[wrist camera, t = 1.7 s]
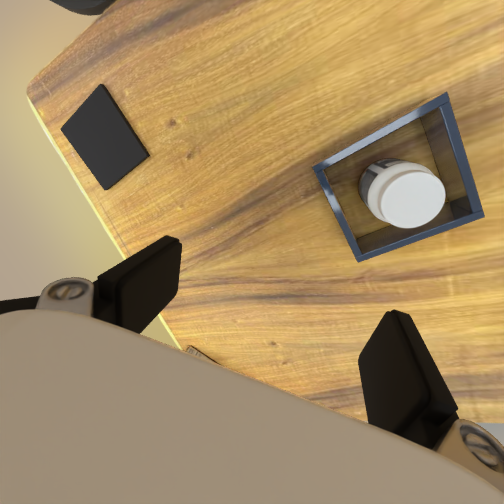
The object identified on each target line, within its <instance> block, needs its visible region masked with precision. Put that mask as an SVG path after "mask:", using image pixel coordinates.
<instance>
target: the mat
mask: <svg viewBox="0 0 504 504" xmlns="http://www.w3.org/2000/svg"><path fill="white" fill-rule="evenodd" d="M61 131H62V132H63V134H64V135H65V136H66V138H67V139H68V141H69V142H70V143H71V145H72V146H73V147H74V149H75V150H76V152H77V153H78V154H79V156H80V157H81V158H82V160H83V161H84V163H85V164H86V165H87V167H88V168H89V169H90V171H91V172H92V174H93V175H94V176H95V178H96V179H97V181H98V182H99V183H100V185H101V186H102V187H103V189H104V190H108V189H109V188H111V187H112V186H113V185H114V184H116V183H117V182H118V181H119V180H120V179H122V178H123V177H124V176H125V175H127V174H128V173H129V172H130V171H132V170H133V169H134V168H135V167H136V166H138V165H139V164H140V163H141V162H143V161H144V160H145V159H146V158H148V157H149V156H150V155H149V154H148V152H147V151H146V149H145V148H144V146H143V144H142V143H141V141H140V140H139V138H138V137H137V135H136V134H135V132H134V131H133V129H132V127H131V126H130V124H129V123H128V121H127V120H126V118H125V117H124V115H123V114H122V112H121V110H120V109H119V107H118V106H117V104H116V103H115V101H114V100H113V98H112V97H111V95H110V94H109V92H108V90H107V89H106V87H105V86H104V85H103V84H100V85H99V86H98V87H97V88H96V89H95V90H94V91H93V93H92V94H91V95H90V96H89V97H88V98H87V99H86V101H85V102H84V103H83V104H82V105H81V106H80V107H79V108H78V110H77V111H76V112H75V113H74V114H73V115H72V116H71V117H70V119H69V120H68V121H67V122H66V123H65V124H64V125H63V127H62V128H61Z"/></svg>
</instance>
